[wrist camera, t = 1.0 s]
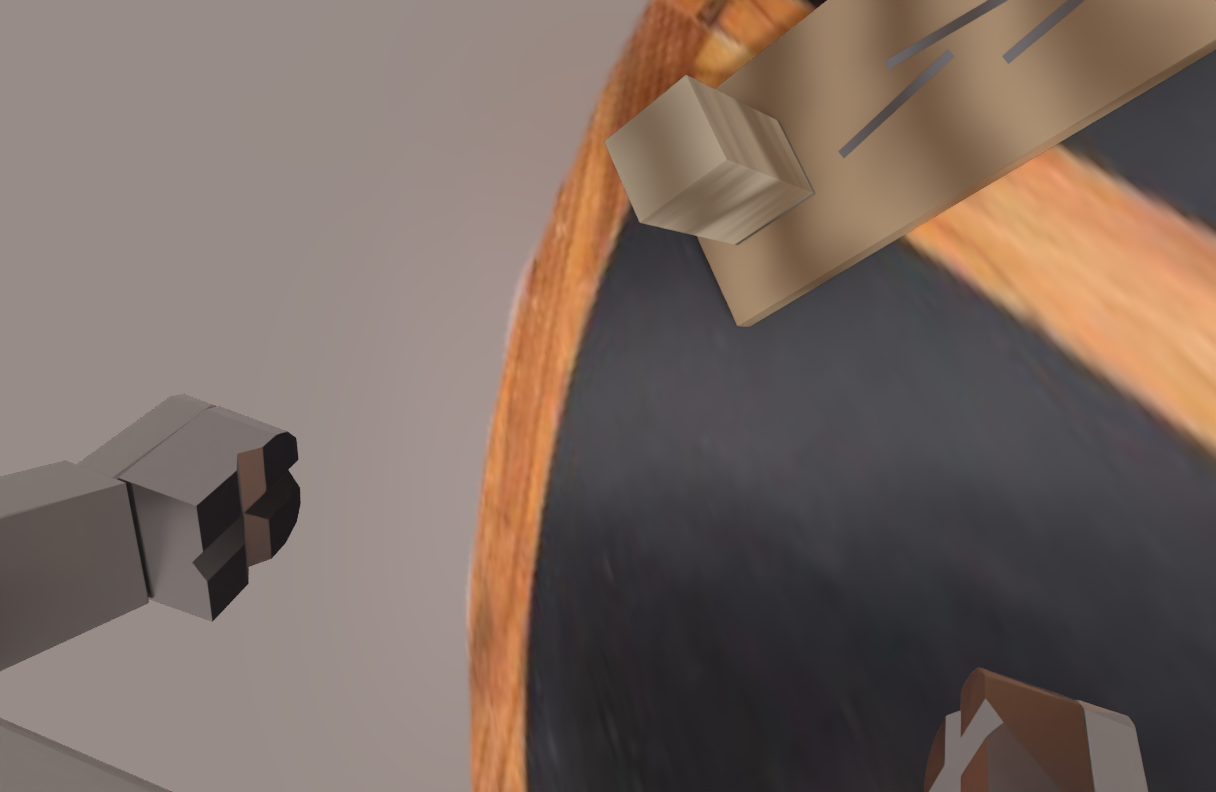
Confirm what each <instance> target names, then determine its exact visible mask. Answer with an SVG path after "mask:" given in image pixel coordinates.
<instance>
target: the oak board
mask: <svg viewBox="0 0 1216 792" xmlns="http://www.w3.org/2000/svg"><path fill="white" fill-rule="evenodd" d="M1214 50H1216V0H827V1H826V2H824V3H823V4H822V5H820V6H819V7H818V8H817V9H815V10H814V11H813V12H812V13H810V14H809V15H808V16H806V17H805V18H804V19H803V20H801V21H800V22H799V23H798V24H796V25H795V26H794V27H792V28H791V29H790V30H789V31H787V32H786V33H785V34H784V35H782V36H781V37H780V38H778V39H777V40H776V41H775V42H773V43H772V44H771V45H770V46H768V47H767V48H766V49H764V50H763V51H762V52H761V53H759V54H758V55H757V56H756V57H754V58H753V59H752V60H750V61H749V62H748V63H747V64H745V65H744V66H743V67H742V68H740V69H739V70H738V71H736V72H735V73H734V74H733V75H731V76H730V77H729V78H728V79H726V80H725V81H724V82H722V83H721V84H720V85H719V86H717V87H716V88H715V89H716V90H718V91H720V92H722V93H724V94H726V95H728V96H730V97H732V98H734V99H736V100H738V101H740V102H742V103H744V104H746V105H748V106H750V107H752V108H754V109H756V110H758V111H760V112H762V113H764V114H766V115H768V116H770V117H772V118H774V119H776V120H778V121H780V123H781V125H782V127H783V129H784V131H785V133H786V135H787V137H788V139H789V141H790V143H791V145H792V147H793V149H794V151H795V153H796V155H797V157H798V159H799V161H800V163H801V165H802V167H803V169H804V171H805V173H806V175H807V177H808V179H809V181H810V183H811V185H812V187H813V189H814V191H815V193H816V194H815V195H813V196H812V197H810V198H809V199H807V200H805V201H804V202H802V203H801V204H799V205H798V206H796V207H795V208H793V209H792V210H790V211H789V212H787V213H786V214H784V215H783V216H781V217H780V218H778V219H777V220H775V221H774V222H772V223H771V224H769V225H768V226H766V227H764V228H763V229H761V230H760V231H758V232H757V233H755V234H754V235H752V236H751V237H749V238H748V239H746V240H745V241H743V242H742V243H740V244H739V245H734V244H730V243H726V242H721V241H717V240H713V239H708V238H704V237H700V236H697V238H698V240H699V242H700V244H701V247H702V249H703V251H704V253H705V255H706V258H707V260H708V262H709V264H710V266H711V269H712V271H713V273H714V275H715V277H716V280H717V282H718V284H719V286H720V288H721V291H722V293H723V295H724V297H725V299H726V301H727V304H728V306H729V308H730V310H731V312H732V315H733V317H734V319H735V321H736V323H737V326H743V327H750V326H752V325H753V324H755V323H757V322H758V321H760V320H762V319H763V318H765V317H767V316H768V315H770V314H772V313H773V312H775V311H777V310H779V309H780V308H782V307H784V306H785V305H787V304H789V303H790V302H792V301H794V300H795V299H797V298H799V297H800V296H802V295H804V294H805V293H807V292H809V291H811V290H812V289H814V288H816V287H817V286H819V285H821V284H822V283H824V282H826V281H827V280H829V279H831V278H832V277H834V276H836V275H837V274H839V273H841V272H842V271H844V270H846V269H848V268H849V267H851V266H853V265H854V264H856V263H858V262H859V261H861V260H863V259H864V258H866V257H868V256H869V255H871V254H873V253H874V252H876V251H878V250H879V249H881V248H883V247H885V246H886V245H888V244H890V243H891V242H893V241H895V240H896V239H898V238H900V237H901V236H903V235H905V234H906V233H908V232H910V231H911V230H913V229H915V228H916V227H918V226H920V225H922V224H923V223H925V222H927V221H928V220H930V219H932V218H933V217H935V216H937V215H938V214H940V213H942V212H943V211H945V210H947V209H948V208H950V207H952V206H953V205H955V204H957V203H959V202H960V201H962V200H964V199H965V198H967V197H969V196H970V195H972V194H974V193H975V192H977V191H979V190H980V189H982V188H984V187H985V186H987V185H989V184H990V183H992V182H994V181H996V180H997V179H999V178H1001V177H1002V176H1004V175H1006V174H1007V173H1009V172H1011V171H1012V170H1014V169H1016V168H1017V167H1019V166H1021V165H1022V164H1024V163H1026V162H1028V161H1029V160H1031V159H1033V158H1034V157H1036V156H1038V155H1039V154H1041V153H1043V152H1044V151H1046V150H1048V149H1049V148H1051V147H1053V146H1054V145H1056V144H1058V143H1059V142H1061V141H1063V140H1065V139H1066V138H1068V137H1070V136H1071V135H1073V134H1075V133H1076V132H1078V131H1080V130H1081V129H1083V128H1085V127H1086V126H1088V125H1090V124H1091V123H1093V122H1095V121H1096V120H1098V119H1100V118H1102V117H1103V116H1105V115H1107V114H1108V113H1110V112H1112V111H1113V110H1115V109H1117V108H1118V107H1120V106H1122V105H1123V104H1125V103H1127V102H1128V101H1130V100H1132V99H1133V98H1135V97H1137V96H1139V95H1140V94H1142V93H1144V92H1145V91H1147V90H1149V89H1150V88H1152V87H1154V86H1155V85H1157V84H1159V83H1160V82H1162V81H1164V80H1165V79H1167V78H1169V77H1170V76H1172V75H1174V74H1176V73H1177V72H1179V71H1181V70H1182V69H1184V68H1186V67H1187V66H1189V65H1191V64H1192V63H1194V62H1196V61H1197V60H1199V59H1201V58H1202V57H1204V56H1206V55H1207V54H1209V53H1211V52H1213V51H1214Z"/></svg>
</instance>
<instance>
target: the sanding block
mask: <svg viewBox="0 0 1216 792" xmlns="http://www.w3.org/2000/svg"><path fill="white" fill-rule="evenodd" d="M604 142H605V145H606V147H607V149H608V152H609V154H610V156H611V158H612V161H613V163H614V165H615V167H616V170H617V172H618V174H619V177H620V179H621V181H622V183H623V186H624V188H625V190H626V192H627V195H628V197H629V199H630V202H631V204H632V206H633V208H634V211H635V213H636V215H637V217H638V220H639V222H640V223H644V224H648V225H652V226H657V227H661V228H665V229H670V230H674V231H678V232H682V233H687V234H691V235H695V236H700V237H704V238H708V239H713V240H717V241H721V242H726V243H730V244H734V245H739V244H740V243H742V242H743V241H745V240H746V239H748V238H749V237H751V236H752V235H754V234H755V233H757V232H758V231H760V230H761V229H763V228H764V227H766V226H768V225H769V224H771V223H772V222H774V221H775V220H777V219H778V218H780V217H781V216H783V215H784V214H786V213H787V212H789V211H790V210H792V209H793V208H795V207H796V206H798V205H799V204H801V203H802V202H804V201H805V200H807V199H809V198H810V197H812V196H813V195H815V194H816V193H815V191H814V189H813V187H812V185H811V183H810V181H809V179H808V177H807V175H806V173H805V171H804V169H803V167H802V165H801V163H800V161H799V159H798V157H797V155H796V153H795V151H794V149H793V147H792V145H791V143H790V141H789V139H788V137H787V135H786V133H785V131H784V129H783V127H782V125H781V123H780V121H778V120H776V119H774V118H772V117H770V116H768V115H766V114H764V113H762V112H760V111H758V110H756V109H754V108H752V107H750V106H748V105H746V104H744V103H742V102H740V101H738V100H736V99H734V98H732V97H730V96H728V95H726V94H724V93H722V92H720V91H718V90H716V89H714V88H712V87H710V86H708V85H706V84H704V83H702V82H700V81H698V80H696V79H694V78H692V77H690V76H688V75H685V76H684V77H683V78H682V79H680V80H679V81H678V82H677V83H675V84H674V85H673V86H672V87H670V88H669V89H668V90H667V91H666V92H664V93H663V94H662V95H661V96H659V97H658V98H657V99H656V100H654V101H653V102H652V103H651V104H650V105H648V106H647V107H646V108H645V109H643V110H642V111H641V112H640V113H638V114H637V115H636V116H635V117H634V118H632V119H631V120H630V121H629V122H627V123H626V124H625V125H624V126H622V127H621V128H620V129H619V130H618V131H616V132H615V133H614V134H613V135H611V136H610V137H609V138H608V139H606V140H605V141H604Z"/></svg>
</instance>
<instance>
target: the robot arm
mask: <svg viewBox="0 0 1216 792" xmlns="http://www.w3.org/2000/svg"><path fill="white" fill-rule="evenodd" d="M297 460H298V452H297V441H296V437H294V436H292V435H291V434H290V433H289V432H287V431H285V430H281V429H279V428H276V427H274V426H271V425H268V424H266V423H263V422H260V421H257V420H255V419H252V418H250V417H247V416H244V415H241V414H239V413H236V412H233V411H231V410H228V409H225V408H222V407H219V406H218V407H217V406H214V405H212V404H209V403H206V402H204V401H201V400H198V399H196V398H193V397H191V396H188V395H185V394H183V395H176V396H171V397H169V398H168V399H166V400H165V401H163V402H162V403H161V404H159V405H158V406H157V407H155V408H154V409H152V410H151V411H150V412H148V413H147V414H145V415H144V416H143V417H141V418H140V419H139V420H137V421H136V422H134V423H133V424H132V425H130V426H129V427H128V428H126V429H125V430H123V431H122V432H120V433H119V434H118V435H116V436H115V437H114V438H112V439H111V440H110V441H108V442H107V443H105V444H104V445H103V446H101V447H100V448H98V449H97V450H96V451H94V452H93V453H91V454H90V455H89V456H87V457H86V458H85V459H83V460H82V461H80V462H79V463H78V464H74V463H71V462H68V461H62V462H58V463H54V464H50V465H46V466H41V467H38V468H33V469H29V470H26V471H22V472H17V473H13V474H9V475H5V476H1V477H0V671H2V670H4V669H6V668H8V667H10V666H13V665H15V664H17V663H19V662H21V661H23V660H26V659H28V658H30V657H32V656H34V655H36V654H39V653H41V652H43V651H45V650H47V649H50V648H52V647H54V646H56V645H58V644H60V643H63V642H65V641H67V640H69V639H71V638H74V637H76V636H78V635H80V634H82V633H84V632H87V631H89V630H91V629H93V628H95V627H98V626H100V625H102V624H104V623H106V622H109V621H111V620H113V619H115V618H117V617H119V616H121V615H124V614H126V613H128V612H130V611H132V610H135V609H137V608H139V607H141V606H143V605H145V604H148V602H149V600H148V599H150V600H153V601H156V602H159V603H161V604H164V605H167V606H170V607H173V608H176V609H178V610H181V611H184V612H187V613H190V614H192V615H195V616H198V617H201V618H204V619H206V620H209V621H213V620H214V619H215V618H216V617H217V616H218V615H219V614H220V613H221V612H222V611H223V610H224V609H225V608H226V607H227V606H228V605H229V604H230V602H231V601H232V600H233V599H234V598H235V597H236V596H237V595H238V594H239V593H240V592H241V591H242V590H243V589H244V588H245V587H246V585H247V584H248V575H249V573H248V572H249V569H248V568H249V567H250V566H253V565H255V564H258V563H261V562H264V561H267V560H269V559H272V558H273V556H274V555H275V554H276V553H277V552H278V551H279V550H280V548H281V547H282V546H283V545H284V544H285V543H286V541H287V539H288V537H289V535H290V533H291V531H292V530H293V527H294V526H295V524H296V522H297V518H298V513H299V508H300V487H299V486H298V484H297V483H296V481H295V480H294V478H293V476H292V475H291V474H290V472H289V470H288V469H289V468H290V467H291V466H292V465H293V464H294V463H295V462H296V461H297ZM0 792H172V791H169V790H167V789H164V788H162V787H160V786H158V785H155V784H153V783H151V782H148V781H146V780H144V779H141V778H139V777H137V776H134V775H132V774H130V773H127V772H125V771H123V770H120V769H118V768H116V767H113V766H111V765H109V764H106V763H104V762H102V761H99V760H97V759H95V758H93V757H90V756H88V755H85V754H83V753H81V752H79V751H76V750H74V749H72V748H69V747H67V746H65V745H62V744H60V743H58V742H55V741H53V740H51V739H48V738H46V737H44V736H41V735H39V734H37V733H34V732H32V731H30V730H28V729H25V728H23V727H20V726H18V725H16V724H14V723H11V722H9V721H6V720H4V719H2V718H0ZM924 792H1148V788H1147V784H1146V779H1145V774H1144V769H1143V764H1142V759H1141V754H1140V749H1139V744H1138V739H1137V734H1136V729H1135V726H1134V724H1133V723H1132V721H1131V720H1130V718H1129V717H1128V716H1125V715H1122V714H1119V713H1116V712H1113V711H1110V710H1107V709H1104V708H1101V707H1098V706H1095V705H1092V704H1089V703H1086V702H1083V701H1079V700H1073V699H1072V698H1069V697H1066V696H1063V695H1060V694H1057V693H1054V692H1051V691H1048V690H1045V689H1042V688H1039V687H1036V686H1033V685H1030V684H1027V683H1024V682H1021V681H1018V680H1015V679H1012V678H1009V677H1006V676H1003V675H1000V674H997V673H994V672H991V671H988V670H985V669H982V668H979V667H978V668H977V669H976V670H975V671H973V672H972V673H971V674H970V676H969V677H968V679H967V681H966V682H965V684H964V686H963V687H962V689H961V711H958V712H955V713H953V714H950V715H947V716H946V717H945V719H944V721H943V723H942V724H941V726H940V728H939V730H938V732H937V734H936V736H935V739H934V742H933V745H932V748H931V752H930V755H929V758H928V762H927V769H926V775H925V786H924Z"/></svg>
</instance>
